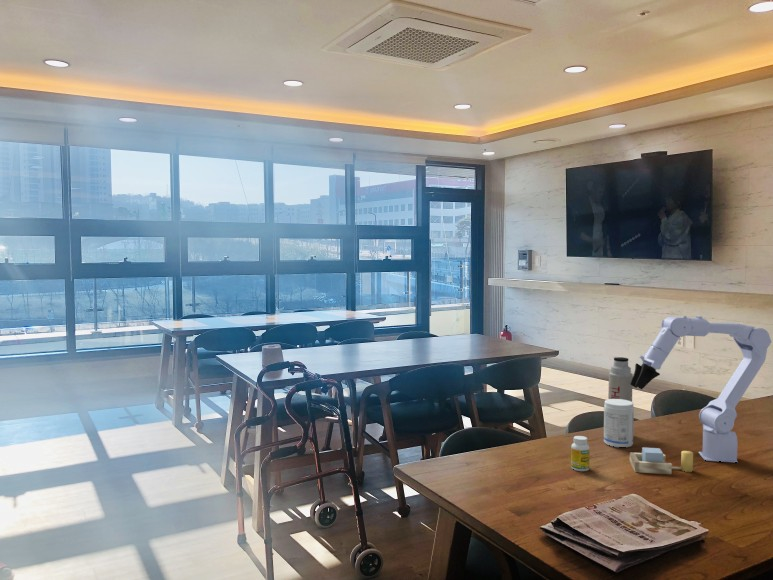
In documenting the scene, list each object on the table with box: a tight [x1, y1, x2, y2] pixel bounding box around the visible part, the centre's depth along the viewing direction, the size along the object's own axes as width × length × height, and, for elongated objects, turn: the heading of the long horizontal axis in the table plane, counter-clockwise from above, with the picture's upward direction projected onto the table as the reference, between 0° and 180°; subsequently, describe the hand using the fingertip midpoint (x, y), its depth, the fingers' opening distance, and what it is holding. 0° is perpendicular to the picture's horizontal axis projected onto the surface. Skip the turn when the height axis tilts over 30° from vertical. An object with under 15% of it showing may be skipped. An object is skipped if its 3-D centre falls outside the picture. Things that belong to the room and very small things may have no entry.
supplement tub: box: [603, 399, 635, 448], centre depth 214 cm, size 10×10×15 cm
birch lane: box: [629, 452, 673, 475], centre depth 191 cm, size 10×9×3 cm
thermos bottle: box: [607, 356, 634, 402], centre depth 224 cm, size 8×8×28 cm
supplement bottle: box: [570, 435, 591, 472], centre depth 190 cm, size 5×5×10 cm
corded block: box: [641, 447, 694, 473], centre depth 190 cm, size 14×5×6 cm, turn 78°
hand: (635, 386), depth 197 cm, fingers open, 7 cm apart
